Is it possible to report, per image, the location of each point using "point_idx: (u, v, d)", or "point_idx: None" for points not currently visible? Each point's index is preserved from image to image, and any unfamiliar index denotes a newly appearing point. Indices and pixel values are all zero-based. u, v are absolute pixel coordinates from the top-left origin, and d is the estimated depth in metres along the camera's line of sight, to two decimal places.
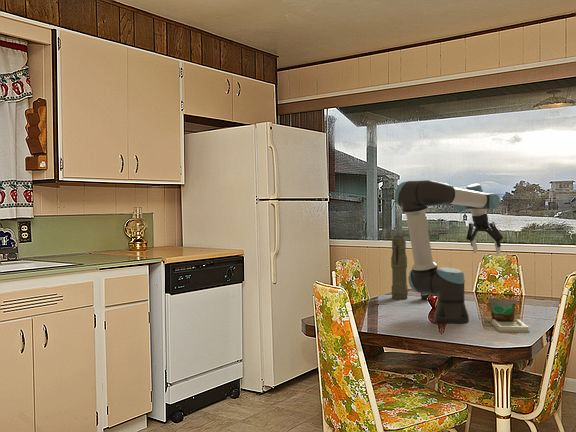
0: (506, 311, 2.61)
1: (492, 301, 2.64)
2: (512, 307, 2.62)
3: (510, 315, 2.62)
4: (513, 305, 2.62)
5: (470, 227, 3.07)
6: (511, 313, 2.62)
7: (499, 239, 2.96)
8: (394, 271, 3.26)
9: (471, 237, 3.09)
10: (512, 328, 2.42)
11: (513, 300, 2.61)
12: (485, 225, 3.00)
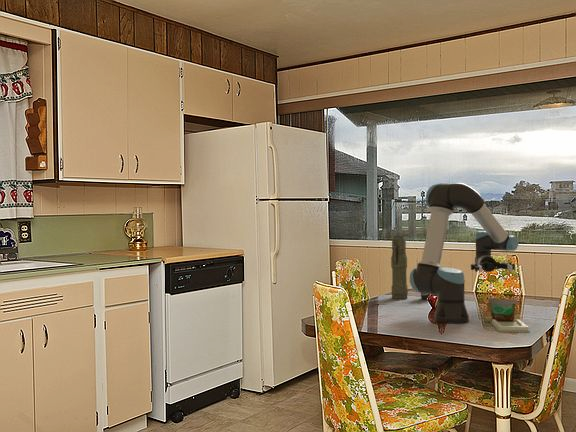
0: (506, 311, 2.61)
1: (492, 301, 2.64)
2: (512, 307, 2.62)
3: (510, 315, 2.62)
4: (513, 305, 2.62)
5: (477, 263, 2.88)
6: (511, 313, 2.62)
7: None
8: (394, 271, 3.26)
9: (477, 264, 2.82)
10: (512, 328, 2.42)
11: (513, 300, 2.61)
12: None
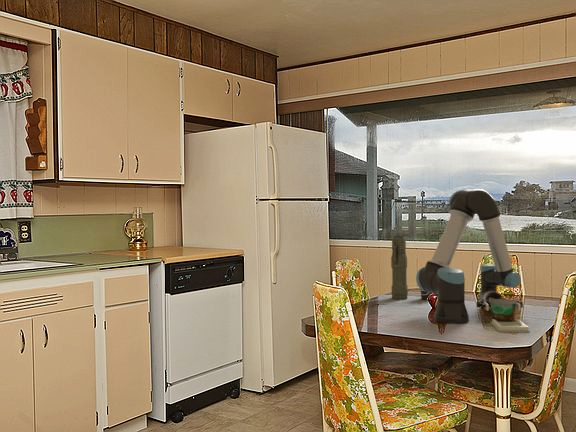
0: (506, 311, 2.61)
1: (492, 301, 2.64)
2: (512, 307, 2.61)
3: (509, 315, 2.61)
4: (513, 305, 2.62)
5: (483, 299, 2.75)
6: (511, 313, 2.61)
7: None
8: (394, 271, 3.26)
9: (484, 301, 2.70)
10: (512, 328, 2.42)
11: (513, 300, 2.61)
12: None
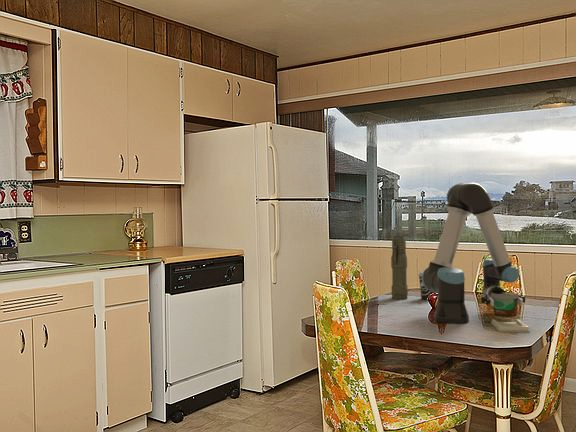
0: (507, 306, 2.55)
1: (493, 296, 2.58)
2: (513, 302, 2.55)
3: (511, 310, 2.55)
4: (515, 300, 2.55)
5: (486, 294, 2.69)
6: (512, 308, 2.55)
7: (523, 296, 2.60)
8: (394, 271, 3.26)
9: (488, 296, 2.63)
10: (512, 328, 2.42)
11: (514, 295, 2.54)
12: None
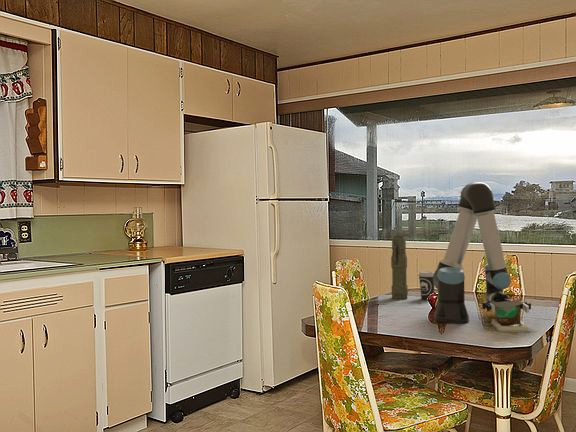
0: (510, 314, 2.47)
1: (494, 304, 2.51)
2: (516, 309, 2.47)
3: (514, 318, 2.47)
4: (517, 307, 2.47)
5: (489, 300, 2.61)
6: (515, 315, 2.47)
7: (529, 303, 2.53)
8: (394, 271, 3.26)
9: (489, 302, 2.56)
10: (512, 328, 2.42)
11: (516, 301, 2.47)
12: (509, 300, 2.61)
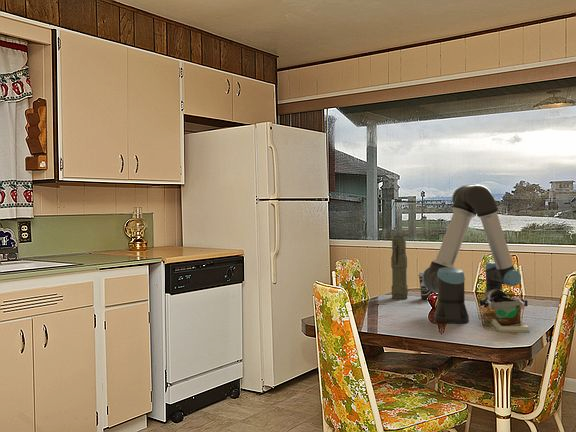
0: (509, 314, 2.47)
1: (494, 305, 2.51)
2: (515, 309, 2.47)
3: (514, 318, 2.47)
4: (516, 307, 2.47)
5: (487, 297, 2.69)
6: (515, 315, 2.47)
7: (526, 300, 2.60)
8: (394, 271, 3.26)
9: (487, 299, 2.64)
10: (512, 328, 2.42)
11: (515, 302, 2.47)
12: None
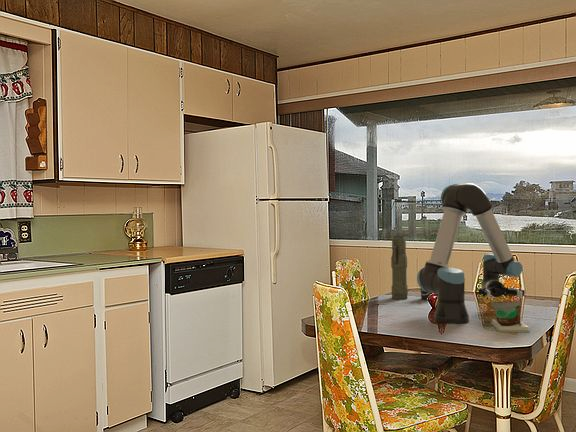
0: (510, 315, 2.47)
1: (494, 305, 2.50)
2: (516, 310, 2.47)
3: (514, 318, 2.47)
4: (517, 307, 2.47)
5: (485, 287, 2.74)
6: (515, 316, 2.47)
7: None
8: (394, 271, 3.26)
9: (485, 289, 2.69)
10: (512, 328, 2.42)
11: (515, 302, 2.46)
12: None
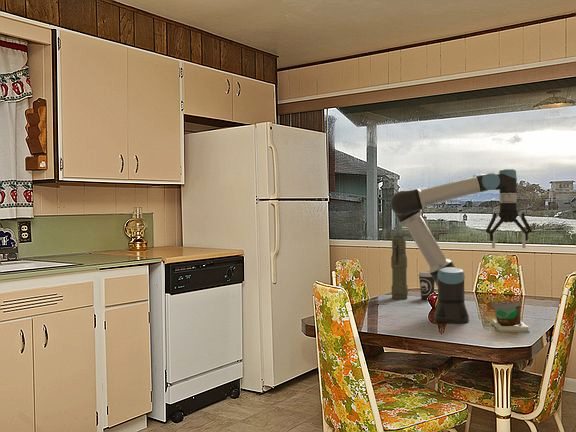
0: (510, 315, 2.47)
1: (494, 305, 2.50)
2: (516, 310, 2.46)
3: (514, 319, 2.47)
4: (517, 308, 2.47)
5: (521, 217, 2.74)
6: (515, 316, 2.47)
7: (486, 231, 2.76)
8: (394, 271, 3.26)
9: None
10: (512, 328, 2.42)
11: (516, 303, 2.46)
12: None
